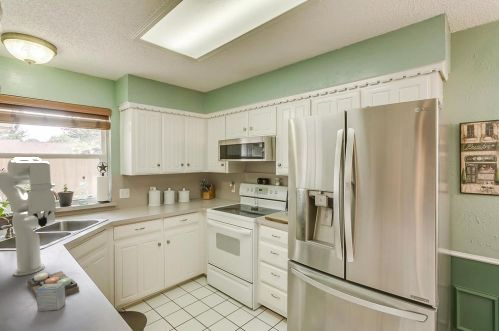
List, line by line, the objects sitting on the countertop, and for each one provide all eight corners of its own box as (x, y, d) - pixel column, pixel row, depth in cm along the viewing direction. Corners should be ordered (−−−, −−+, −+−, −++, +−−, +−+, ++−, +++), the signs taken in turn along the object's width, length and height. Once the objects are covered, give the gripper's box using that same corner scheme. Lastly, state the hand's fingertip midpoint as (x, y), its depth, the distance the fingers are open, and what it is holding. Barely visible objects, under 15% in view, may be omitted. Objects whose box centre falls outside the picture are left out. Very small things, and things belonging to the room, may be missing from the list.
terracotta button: (44, 284, 115) (44, 280, 114) (57, 280, 118) (57, 275, 118) (47, 287, 111) (46, 283, 111) (60, 283, 115) (60, 278, 115)
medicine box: (66, 304, 102) (65, 282, 101) (58, 310, 97) (56, 288, 97) (45, 305, 101) (44, 283, 101) (36, 311, 97) (35, 289, 97)
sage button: (55, 285, 111) (55, 281, 111) (69, 281, 115) (69, 276, 115) (59, 289, 108) (58, 284, 108) (72, 284, 112) (72, 280, 112)
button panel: (27, 285, 118) (27, 278, 118) (61, 275, 128) (61, 268, 128) (41, 304, 102) (41, 296, 102) (79, 291, 112) (78, 283, 112)
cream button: (33, 279, 118) (32, 275, 118) (46, 275, 122) (46, 271, 121) (35, 282, 114) (35, 278, 114) (49, 278, 118) (49, 274, 118)
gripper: (57, 185, 128) (59, 221, 128) (18, 188, 116) (20, 228, 117) (62, 186, 123) (64, 223, 124) (21, 189, 112) (23, 231, 112)
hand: (42, 226), depth 120 cm, fingers closed
